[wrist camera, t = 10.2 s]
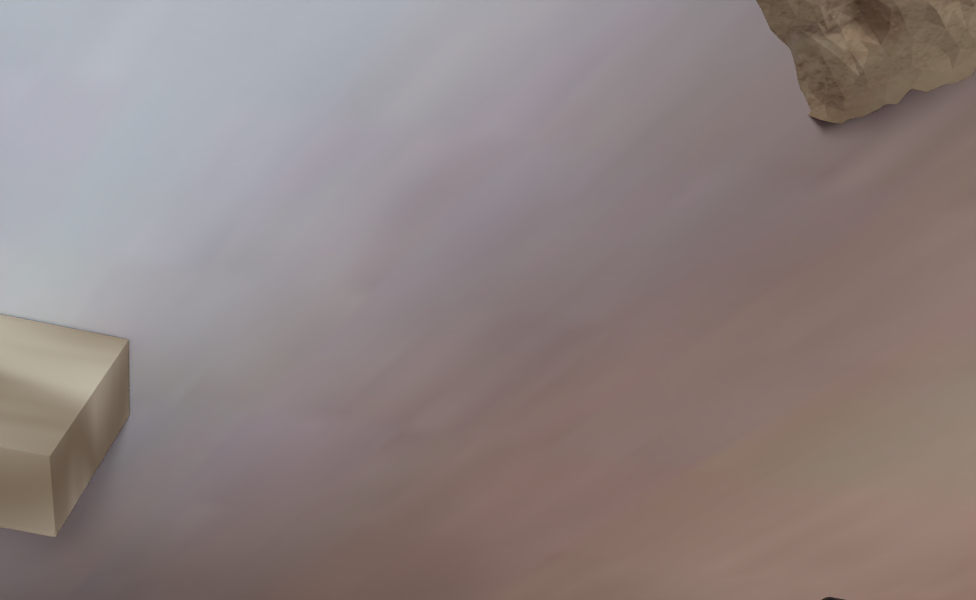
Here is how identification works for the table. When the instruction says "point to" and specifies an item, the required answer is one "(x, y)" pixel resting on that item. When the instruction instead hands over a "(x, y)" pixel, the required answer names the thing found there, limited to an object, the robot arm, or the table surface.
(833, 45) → the clay tablet
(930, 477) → the table surface
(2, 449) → the maple rail
